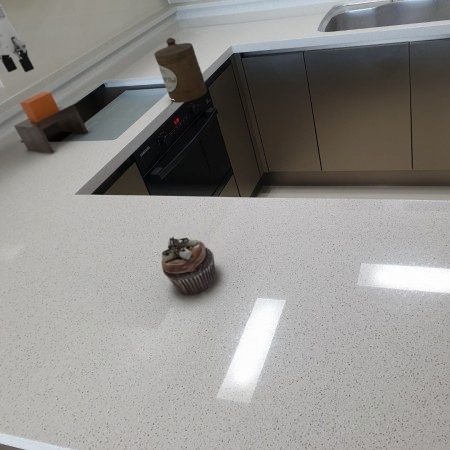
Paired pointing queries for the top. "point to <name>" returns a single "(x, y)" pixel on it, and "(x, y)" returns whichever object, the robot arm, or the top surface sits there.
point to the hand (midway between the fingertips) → (21, 70)
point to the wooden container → (180, 71)
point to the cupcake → (189, 265)
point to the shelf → (34, 130)
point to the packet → (39, 106)
